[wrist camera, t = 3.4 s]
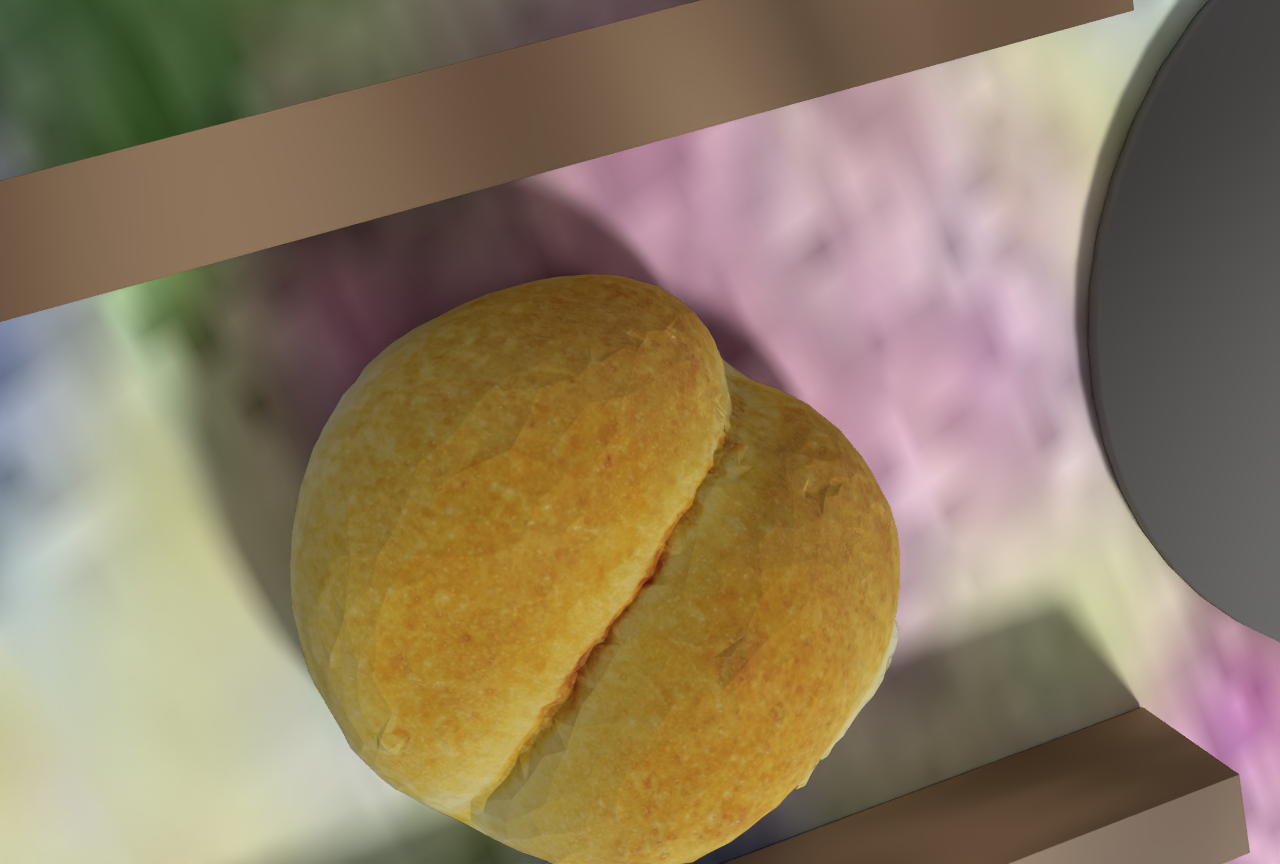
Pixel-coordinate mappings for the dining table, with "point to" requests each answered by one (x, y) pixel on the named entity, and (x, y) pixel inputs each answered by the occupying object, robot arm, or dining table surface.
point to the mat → (1199, 311)
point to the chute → (576, 132)
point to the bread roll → (589, 575)
